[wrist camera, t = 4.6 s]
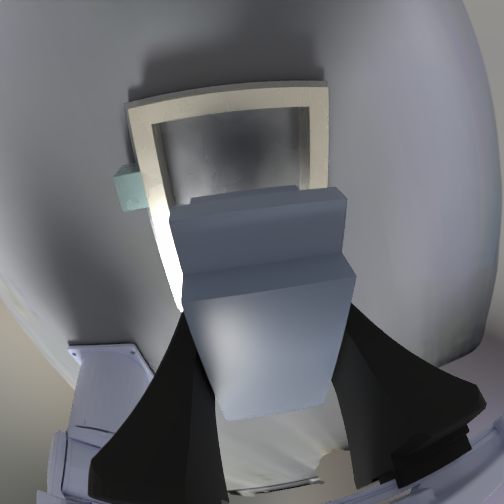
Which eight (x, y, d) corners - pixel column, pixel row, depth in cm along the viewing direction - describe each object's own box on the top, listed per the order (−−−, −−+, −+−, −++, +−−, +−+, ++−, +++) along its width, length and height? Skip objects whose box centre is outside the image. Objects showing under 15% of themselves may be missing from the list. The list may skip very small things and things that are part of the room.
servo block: (293, 329, 16) (319, 416, 11) (222, 340, 16) (231, 431, 11) (294, 147, 10) (365, 218, 6) (184, 160, 10) (162, 245, 5)
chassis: (316, 282, 23) (327, 305, 21) (168, 304, 22) (166, 329, 20) (323, 80, 14) (342, 83, 12) (113, 106, 13) (97, 112, 11)
